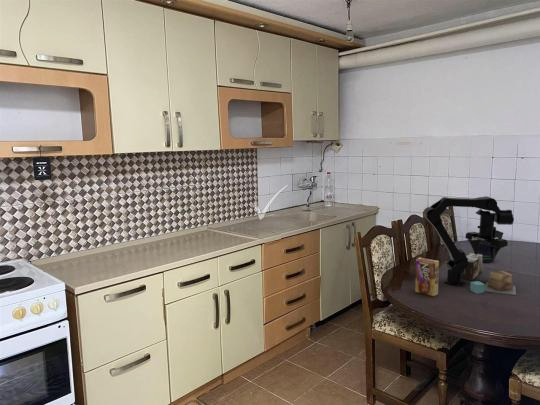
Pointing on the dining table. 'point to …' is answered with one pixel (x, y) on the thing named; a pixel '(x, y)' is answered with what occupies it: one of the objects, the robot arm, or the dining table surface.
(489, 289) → the grey square tile
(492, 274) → the oak top block
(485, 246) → the storage jar
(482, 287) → the teal block
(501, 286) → the walnut base block
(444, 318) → the dining table surface
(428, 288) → the candy box
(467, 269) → the coffee box
